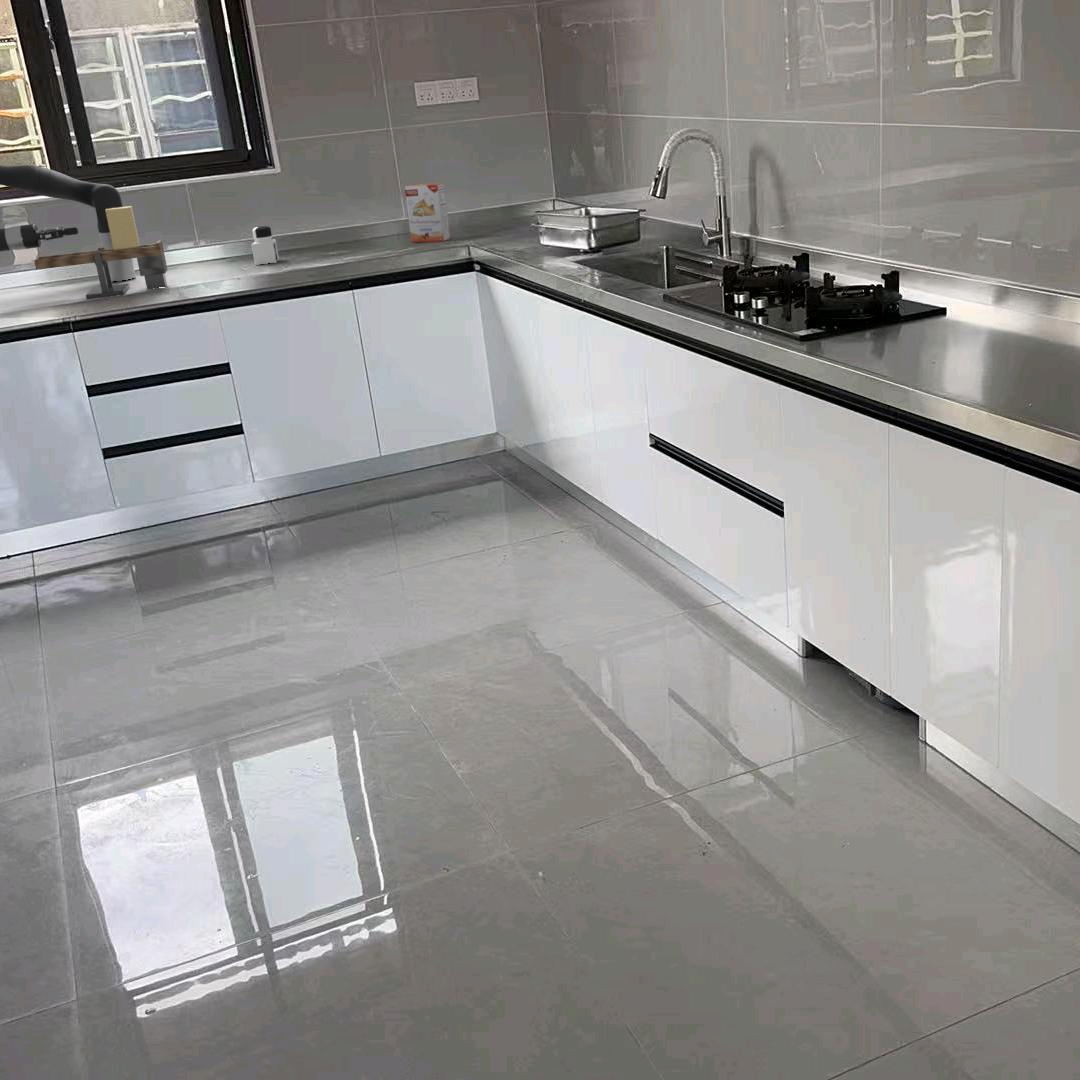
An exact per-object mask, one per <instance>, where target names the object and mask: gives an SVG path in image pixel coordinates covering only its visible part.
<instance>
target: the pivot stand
mask: <svg viewBox="0 0 1080 1080" xmlns="http://www.w3.org/2000/svg"><path fill="white" fill-rule="evenodd" d="M97 250H105V248H104V247H103V248H102V247H98V248H97ZM93 254H94V258H95V263H96V265H95V267H96V271H97V272H96V273H97V275H98V279H99V280H98V281H99V284H100V286H98V287H92V288H91V289H90V290H89V291H88V292H87V293H86V294H85V298H86V300H96V299H101V298H102V299H103V298H110V297H111V296H112V297H118V296H117V295H120V296H124V295H125V294H126V293H127V292H128V291H129V289H130V288H131V287H130V284H129V283H122V284H121V283H120V284H113V282H112V280H111V275H110V271H109V266H108V262H107V263H106V264H105V265H104V266H103V263H102V258H101V253H100V251H98V252H93ZM95 263H94V264H95ZM143 277H144V281H145V285H146V286H145V287H146V290H147V289H153V288H159V287H166V288H167V286H168V284H167V283H168V282H167V278H166V273H164V274H155V275H147V276H143ZM166 285H167V286H166ZM153 290H154V289H153ZM112 297H111V298H112Z"/></svg>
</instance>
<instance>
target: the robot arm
mask: <svg viewBox="0 0 1080 1080" xmlns="http://www.w3.org/2000/svg"><path fill="white" fill-rule="evenodd" d="M0 186H4V187H9V188H13V189H16V190H21V191H25V192H28V193H32V194H35V195H40V196H44V197H48V198H51V199H52V198H53V199H61V200H68V201H74V202H78V203H81V204H84V205H87V206H89V207H91V208H94V209H95V213H96V219H97V230H98V234H99V239H100V243H101V244H100V245H101V248H103V247H104V248H105V249H113V243H112V239H111V234H110V229H109V225H108V220H107V215H106V211H105V210H106V209H109V208H118V207H123V202H122V198H121V195H120V192H119V191H118V189H117V188H115V187H114V186H112V185H111V184H106V183H95V182H89V181H84V180H79V179H77V178H74V177H71V176H68V175H67V174H64V173H62V172H59V171H56V170H54V169H50V168H46V167H44V166H43V167H42V166H38V165H35V164H34V165H33V164H24V165H21V164H20V165H14V166H13V165H11V166H10V165H0ZM78 234H79V229H78V227H77V226H73V227H72V226H71V227H63V226H60V227H57V226H55V227H52V226H51V227H43V228H41V230H39V229H38V227H37V225H36V224H35V223H29V224H21V225H14V226H9V227H5V228H3V227H2V228H0V252H6V251H22V250H29V249H30V250H31V249H35V248H37V249H38V248H40V247H41V244H42V240H44V242H49V241H52V240H58V239H61V238H66V236H72V235H73V236H74V235H78ZM107 262H108V266H109V271H110V275H111V280H112V283H114V282H113V281H117V282H123V281H122V280H126V281H129V280H128V279H131V280H133V279H132V278H134V279H136V278H137V275H136V271H135V267H134V262H133V258H132V259H123V260H115V261H107ZM135 277H136V278H135Z"/></svg>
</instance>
